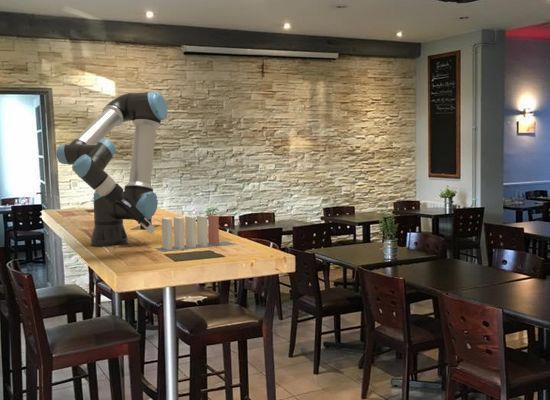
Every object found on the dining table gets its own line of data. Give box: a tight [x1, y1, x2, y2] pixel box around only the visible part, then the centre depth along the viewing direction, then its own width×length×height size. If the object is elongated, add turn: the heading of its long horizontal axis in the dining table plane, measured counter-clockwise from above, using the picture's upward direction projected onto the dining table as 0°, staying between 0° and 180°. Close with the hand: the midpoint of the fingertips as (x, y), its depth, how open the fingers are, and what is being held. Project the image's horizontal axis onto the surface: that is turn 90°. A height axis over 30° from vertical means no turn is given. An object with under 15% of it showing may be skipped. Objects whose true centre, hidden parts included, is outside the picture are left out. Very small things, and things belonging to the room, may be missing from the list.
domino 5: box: [207, 214, 220, 246], centre depth 250 cm, size 2×6×12 cm, turn 32°
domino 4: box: [196, 214, 209, 247], centre depth 247 cm, size 2×6×12 cm, turn 32°
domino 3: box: [184, 215, 197, 248], centre depth 245 cm, size 2×6×12 cm, turn 31°
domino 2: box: [173, 216, 185, 249], centre depth 242 cm, size 2×6×12 cm, turn 31°
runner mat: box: [153, 240, 237, 253], centre depth 246 cm, size 10×32×1 cm, turn 121°
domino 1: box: [161, 217, 173, 250], centre depth 240 cm, size 2×6×12 cm, turn 31°
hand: (153, 231), depth 237 cm, fingers closed
